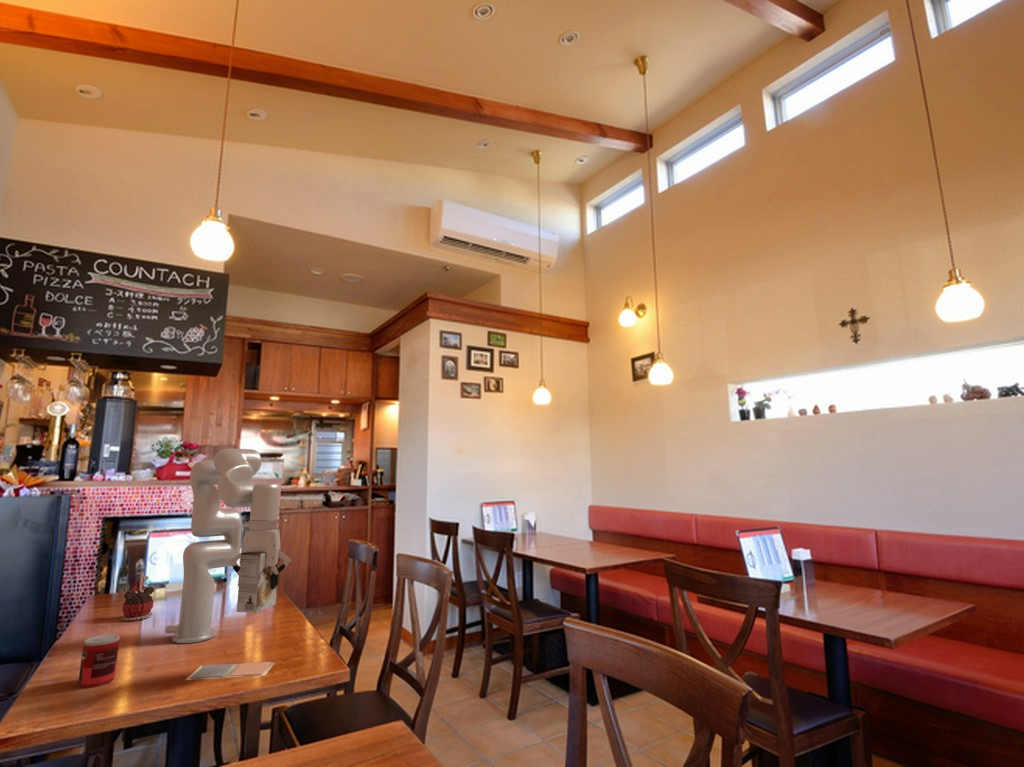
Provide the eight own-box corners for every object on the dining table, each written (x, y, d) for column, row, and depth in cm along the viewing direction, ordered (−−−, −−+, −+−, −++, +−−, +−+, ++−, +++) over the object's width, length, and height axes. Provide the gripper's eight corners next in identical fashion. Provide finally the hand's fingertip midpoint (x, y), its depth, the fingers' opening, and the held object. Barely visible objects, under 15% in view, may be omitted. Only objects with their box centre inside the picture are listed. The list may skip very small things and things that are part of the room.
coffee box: (256, 603, 153) (261, 547, 156) (276, 605, 152) (280, 548, 155) (235, 612, 144) (240, 552, 147) (256, 613, 143) (261, 553, 146)
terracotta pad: (230, 676, 141) (230, 675, 141) (241, 664, 149) (241, 663, 149) (261, 675, 142) (261, 673, 142) (270, 663, 151) (271, 661, 151)
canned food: (90, 676, 143) (96, 634, 145) (121, 676, 144) (126, 633, 145) (69, 688, 135) (76, 643, 137) (102, 687, 136) (108, 642, 138)
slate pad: (190, 678, 139) (190, 677, 139) (203, 666, 148) (203, 665, 148) (222, 677, 140) (222, 675, 140) (233, 664, 149) (234, 663, 149)
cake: (131, 623, 192) (137, 572, 195) (113, 621, 195) (119, 571, 198) (158, 616, 202) (164, 567, 204) (141, 613, 205) (147, 566, 207)
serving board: (184, 684, 138) (185, 679, 138) (200, 670, 148) (200, 666, 148) (264, 680, 142) (265, 675, 142) (274, 666, 151) (275, 662, 151)
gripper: (226, 527, 147) (220, 592, 144) (291, 527, 150) (286, 590, 147) (236, 524, 154) (230, 586, 151) (297, 524, 157) (293, 585, 154)
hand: (258, 588), depth 149 cm, fingers closed on coffee box, 7 cm apart
